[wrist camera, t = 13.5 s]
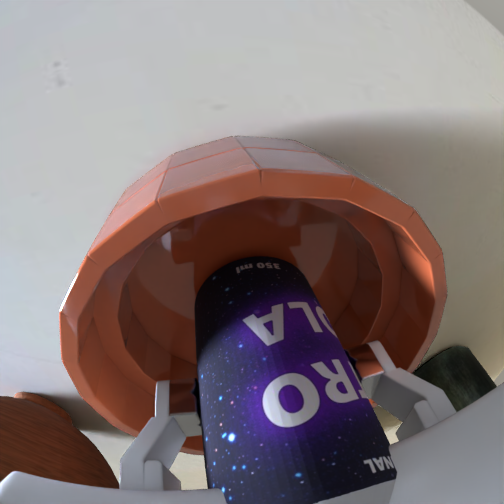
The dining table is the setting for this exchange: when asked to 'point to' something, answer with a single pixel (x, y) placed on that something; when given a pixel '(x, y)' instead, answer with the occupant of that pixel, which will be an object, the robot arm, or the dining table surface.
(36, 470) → the bowl
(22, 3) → the dining table surface
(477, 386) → the mug
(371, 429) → the beverage can
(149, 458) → the robot arm
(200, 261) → the terracotta bowl
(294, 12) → the dining table surface
